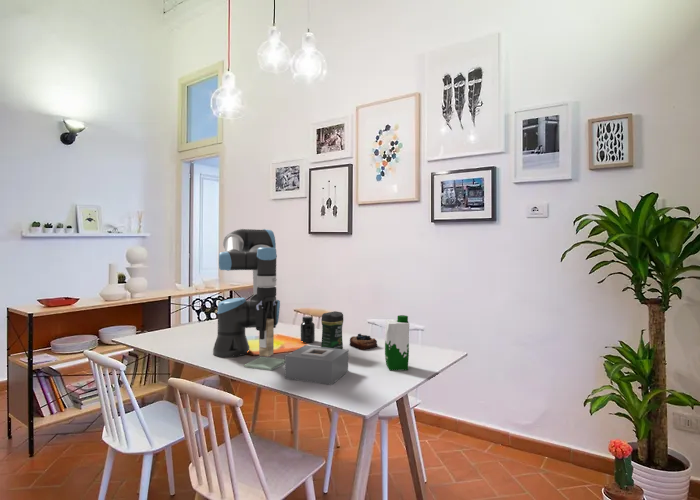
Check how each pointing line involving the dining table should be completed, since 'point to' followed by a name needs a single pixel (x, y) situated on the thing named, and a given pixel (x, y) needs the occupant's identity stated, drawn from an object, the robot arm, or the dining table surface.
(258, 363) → the mat
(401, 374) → the dining table surface
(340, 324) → the coffee jar
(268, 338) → the peg
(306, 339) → the supplement bottle
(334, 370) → the grey socket block
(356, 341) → the pastry
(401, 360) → the milk carton
